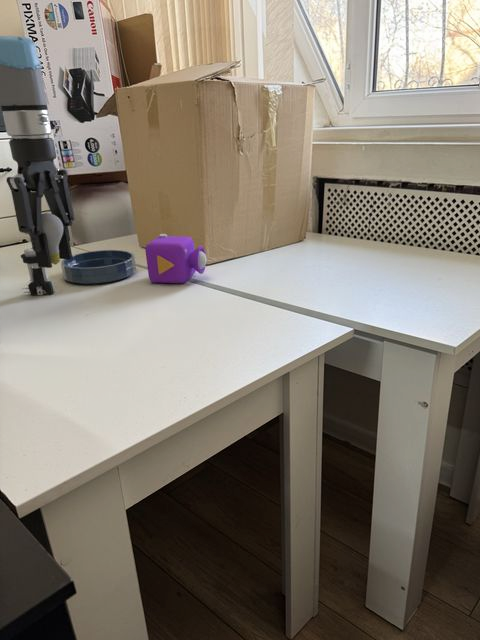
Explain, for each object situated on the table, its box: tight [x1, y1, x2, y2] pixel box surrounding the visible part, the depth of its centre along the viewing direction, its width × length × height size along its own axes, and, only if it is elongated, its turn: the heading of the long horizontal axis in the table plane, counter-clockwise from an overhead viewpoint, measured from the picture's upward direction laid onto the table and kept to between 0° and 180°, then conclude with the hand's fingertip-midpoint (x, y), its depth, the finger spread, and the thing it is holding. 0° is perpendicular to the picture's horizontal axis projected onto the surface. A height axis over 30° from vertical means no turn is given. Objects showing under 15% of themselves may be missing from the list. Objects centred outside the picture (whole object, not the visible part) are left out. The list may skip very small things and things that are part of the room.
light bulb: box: [34, 212, 64, 265], centre depth 99 cm, size 5×5×10 cm
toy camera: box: [145, 233, 208, 284], centre depth 119 cm, size 11×14×10 cm
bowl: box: [60, 249, 137, 285], centre depth 125 cm, size 17×17×4 cm
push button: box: [20, 247, 55, 296], centre depth 112 cm, size 7×5×10 cm
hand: (55, 262), depth 101 cm, fingers closed on light bulb, 5 cm apart
